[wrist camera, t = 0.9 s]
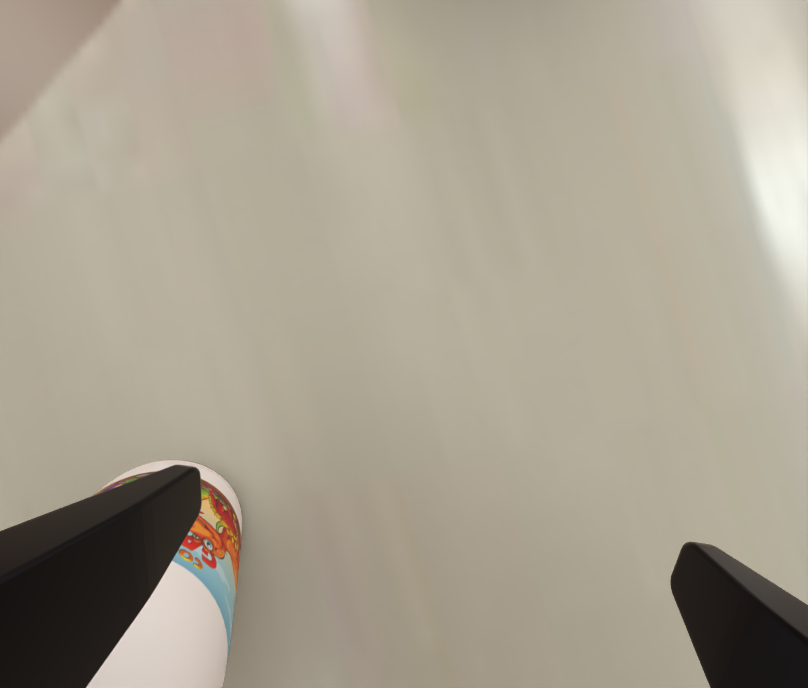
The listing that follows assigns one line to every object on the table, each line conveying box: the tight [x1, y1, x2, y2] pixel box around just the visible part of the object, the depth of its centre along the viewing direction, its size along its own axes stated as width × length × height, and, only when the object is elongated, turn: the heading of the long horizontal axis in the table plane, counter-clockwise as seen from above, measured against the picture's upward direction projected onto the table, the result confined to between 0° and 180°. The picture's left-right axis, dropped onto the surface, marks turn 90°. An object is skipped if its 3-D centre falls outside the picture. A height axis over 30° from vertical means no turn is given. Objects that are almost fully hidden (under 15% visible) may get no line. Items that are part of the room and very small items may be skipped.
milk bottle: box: [86, 460, 242, 688], centre depth 12 cm, size 8×8×20 cm
